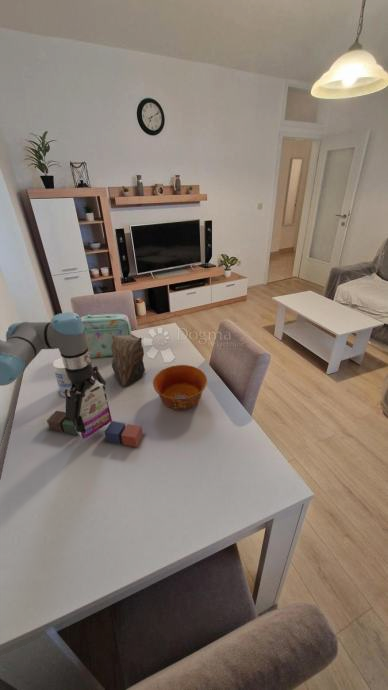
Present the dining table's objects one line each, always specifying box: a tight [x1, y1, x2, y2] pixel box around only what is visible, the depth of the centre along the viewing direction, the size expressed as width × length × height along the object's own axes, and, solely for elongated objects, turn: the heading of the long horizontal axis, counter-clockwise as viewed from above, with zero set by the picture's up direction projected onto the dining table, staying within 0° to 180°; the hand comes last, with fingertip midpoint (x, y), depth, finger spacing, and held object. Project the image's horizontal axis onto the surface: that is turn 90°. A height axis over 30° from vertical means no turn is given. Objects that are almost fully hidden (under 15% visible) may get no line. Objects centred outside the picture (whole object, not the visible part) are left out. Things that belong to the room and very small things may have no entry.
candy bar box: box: [64, 379, 113, 440], centre depth 91 cm, size 11×5×16 cm, turn 137°
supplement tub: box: [52, 356, 71, 397], centre depth 113 cm, size 10×10×15 cm
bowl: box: [152, 364, 208, 411], centre depth 109 cm, size 21×21×10 cm
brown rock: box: [111, 333, 146, 388], centre depth 120 cm, size 13×13×20 cm
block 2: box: [62, 419, 79, 436], centre depth 97 cm, size 5×5×5 cm
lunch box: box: [80, 313, 132, 359], centre depth 138 cm, size 27×10×21 cm, turn 102°
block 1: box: [46, 410, 66, 433], centre depth 98 cm, size 5×5×5 cm
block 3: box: [104, 420, 127, 445], centre depth 94 cm, size 5×5×5 cm
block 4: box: [121, 423, 144, 448], centre depth 92 cm, size 5×5×5 cm
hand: (91, 417), depth 93 cm, fingers closed on candy bar box, 12 cm apart
